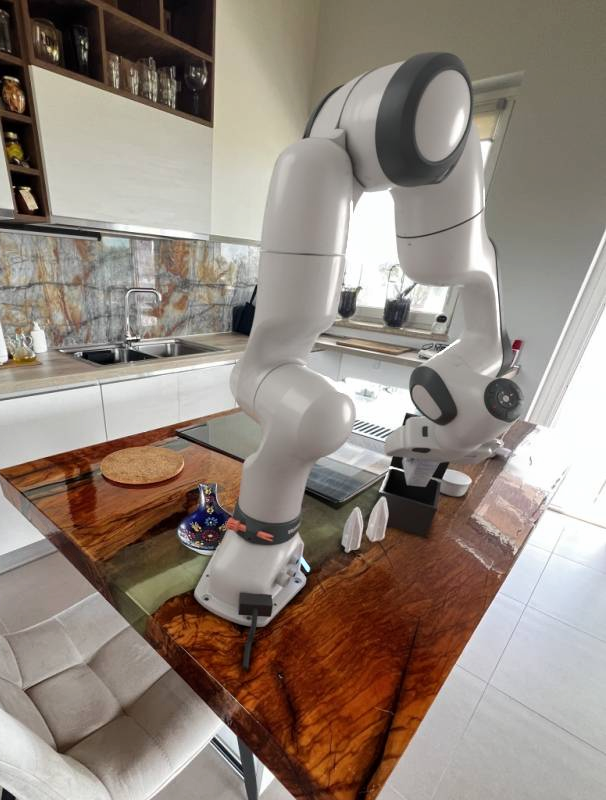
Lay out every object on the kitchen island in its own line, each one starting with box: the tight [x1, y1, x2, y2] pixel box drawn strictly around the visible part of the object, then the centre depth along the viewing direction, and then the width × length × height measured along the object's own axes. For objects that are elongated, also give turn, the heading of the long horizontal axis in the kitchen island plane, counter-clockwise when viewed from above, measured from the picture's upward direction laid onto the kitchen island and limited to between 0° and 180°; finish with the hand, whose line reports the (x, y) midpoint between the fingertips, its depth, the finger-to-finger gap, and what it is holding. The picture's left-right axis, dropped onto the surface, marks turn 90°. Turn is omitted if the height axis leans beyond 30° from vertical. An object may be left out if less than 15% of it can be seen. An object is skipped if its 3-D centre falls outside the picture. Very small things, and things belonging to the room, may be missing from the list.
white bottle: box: [487, 437, 517, 459], centre depth 139 cm, size 5×9×15 cm
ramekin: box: [435, 468, 473, 497], centre depth 114 cm, size 9×9×4 cm
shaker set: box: [341, 497, 388, 553], centre depth 88 cm, size 12×4×11 cm, turn 116°
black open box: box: [373, 466, 441, 538], centre depth 101 cm, size 16×13×8 cm
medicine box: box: [402, 458, 440, 487], centre depth 94 cm, size 8×4×9 cm, turn 174°
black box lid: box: [389, 412, 451, 480], centre depth 99 cm, size 16×13×5 cm
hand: (419, 459), depth 94 cm, fingers closed on medicine box, 4 cm apart
